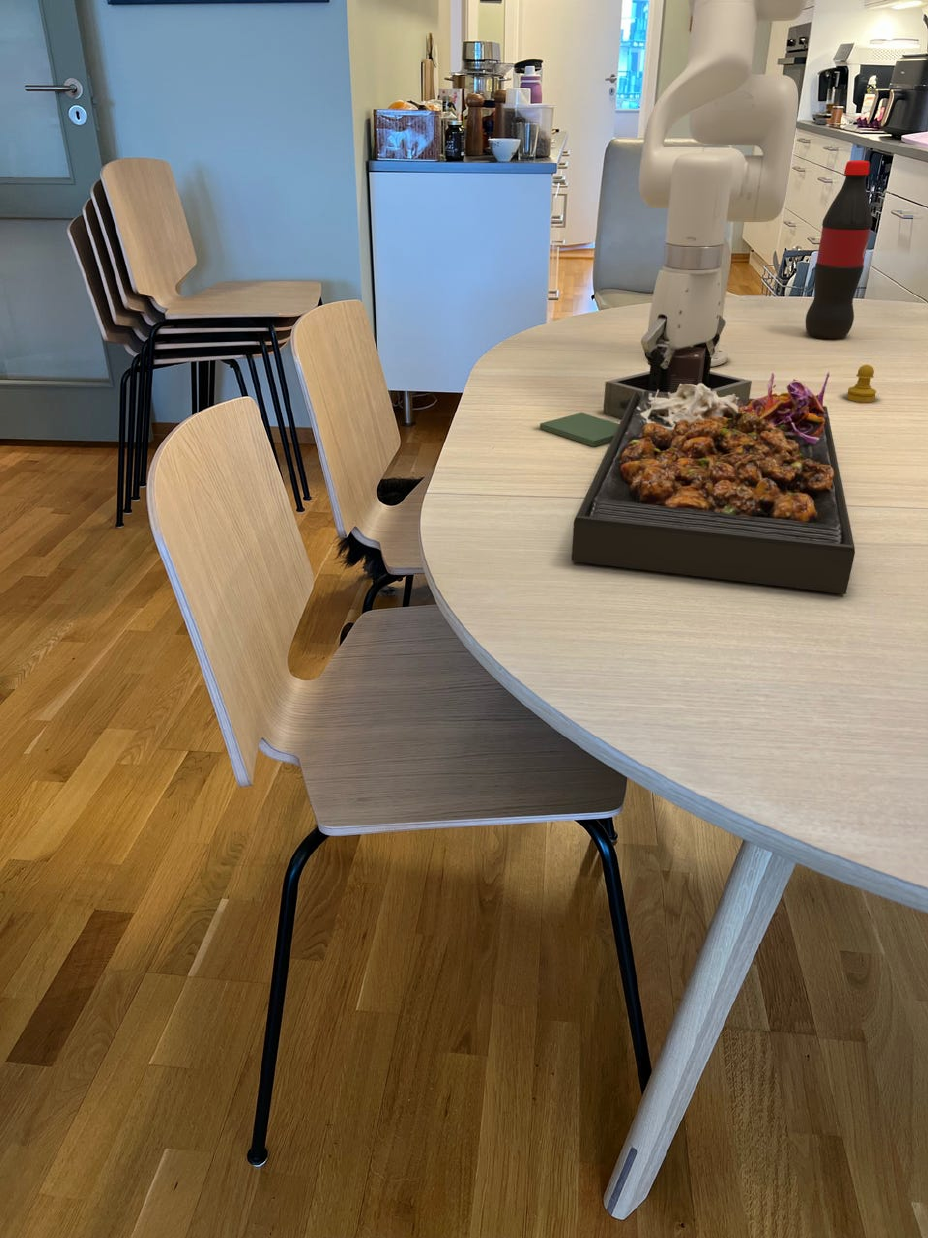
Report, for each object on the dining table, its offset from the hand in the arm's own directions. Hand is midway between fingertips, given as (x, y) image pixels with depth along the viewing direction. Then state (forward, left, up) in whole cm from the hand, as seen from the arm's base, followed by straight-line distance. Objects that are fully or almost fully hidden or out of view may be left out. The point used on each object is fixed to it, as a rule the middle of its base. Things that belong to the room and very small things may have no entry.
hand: (678, 387), depth 130 cm
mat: (-2, -17, -3) cm, 17 cm away
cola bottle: (-14, +61, -4) cm, 63 cm away
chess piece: (+13, +26, -4) cm, 30 cm away
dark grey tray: (0, -1, -3) cm, 3 cm away
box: (0, 0, -2) cm, 2 cm away
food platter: (+24, -22, -3) cm, 32 cm away
